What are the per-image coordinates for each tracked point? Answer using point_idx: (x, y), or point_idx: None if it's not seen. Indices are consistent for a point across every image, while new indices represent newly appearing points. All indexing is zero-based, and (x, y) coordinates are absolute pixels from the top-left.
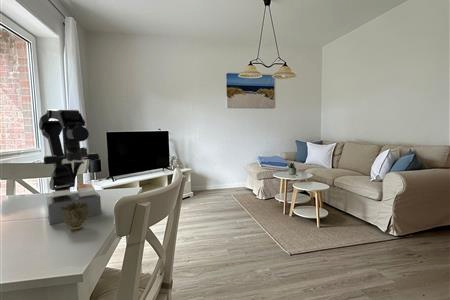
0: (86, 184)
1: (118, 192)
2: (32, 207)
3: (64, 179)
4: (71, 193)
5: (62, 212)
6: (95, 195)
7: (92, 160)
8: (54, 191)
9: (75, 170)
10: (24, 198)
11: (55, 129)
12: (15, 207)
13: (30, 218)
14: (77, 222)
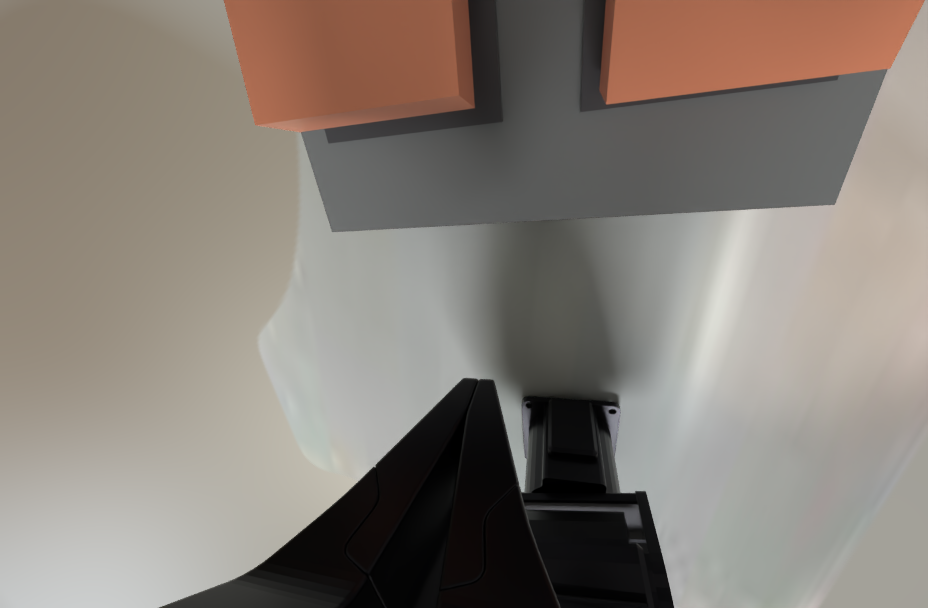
0: (310, 70)
1: (296, 406)
2: (748, 427)
3: (565, 552)
4: (541, 213)
5: None
6: None
7: None
8: (859, 13)
9: (399, 490)
10: (724, 588)
11: None
12: (825, 486)
13: (872, 156)
14: None
